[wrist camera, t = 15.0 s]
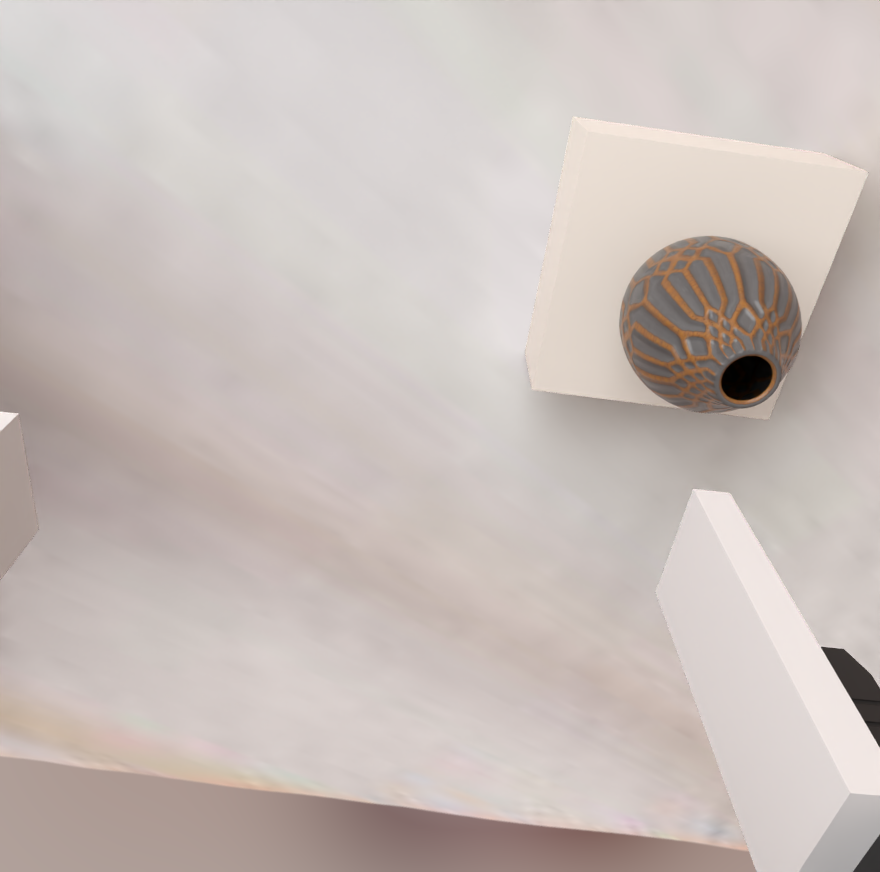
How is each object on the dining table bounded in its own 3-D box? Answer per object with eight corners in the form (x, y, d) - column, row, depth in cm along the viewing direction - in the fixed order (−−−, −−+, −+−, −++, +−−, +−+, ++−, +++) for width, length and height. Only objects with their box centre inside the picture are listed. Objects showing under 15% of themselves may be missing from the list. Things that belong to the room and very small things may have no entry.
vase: (781, 320, 35) (871, 411, 27) (641, 386, 36) (690, 489, 29) (731, 188, 32) (817, 249, 24) (582, 267, 34) (619, 346, 26)
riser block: (524, 349, 41) (531, 389, 37) (571, 115, 35) (587, 131, 31) (736, 376, 42) (768, 420, 37) (819, 151, 36) (869, 172, 31)
